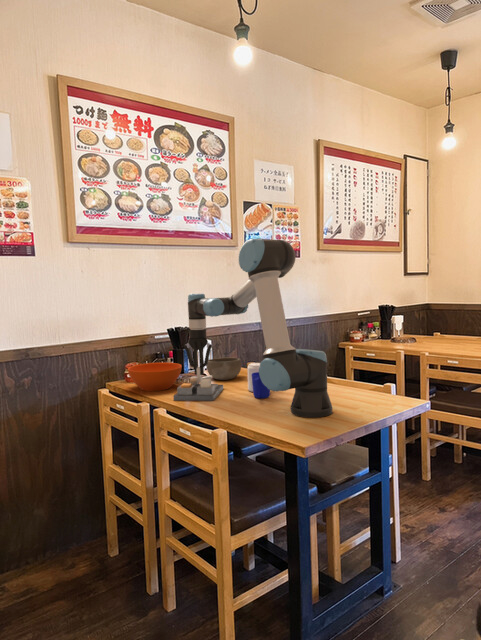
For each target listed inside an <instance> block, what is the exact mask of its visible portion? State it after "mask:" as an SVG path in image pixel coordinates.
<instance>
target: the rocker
mask: <svg viewBox="0 0 481 640" xmlns="http://www.w3.org/2000/svg"><path fill="white" fill-rule="evenodd" d="M202 379H211V380H212V379H213V378H212V375H211V376H210V375H207V376H202Z"/></svg>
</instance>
